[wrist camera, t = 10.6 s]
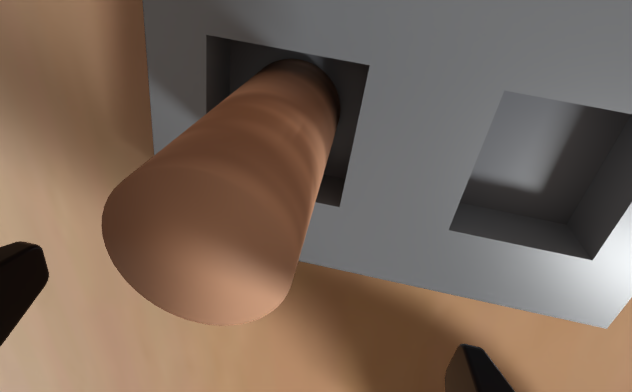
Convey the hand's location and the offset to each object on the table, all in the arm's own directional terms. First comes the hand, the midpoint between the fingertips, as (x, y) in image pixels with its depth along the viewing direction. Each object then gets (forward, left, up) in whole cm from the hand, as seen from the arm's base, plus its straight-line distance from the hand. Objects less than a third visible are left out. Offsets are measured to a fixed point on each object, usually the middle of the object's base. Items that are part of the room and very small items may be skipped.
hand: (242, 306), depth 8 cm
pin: (+1, +1, -10) cm, 10 cm away
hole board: (+1, -4, -12) cm, 12 cm away
